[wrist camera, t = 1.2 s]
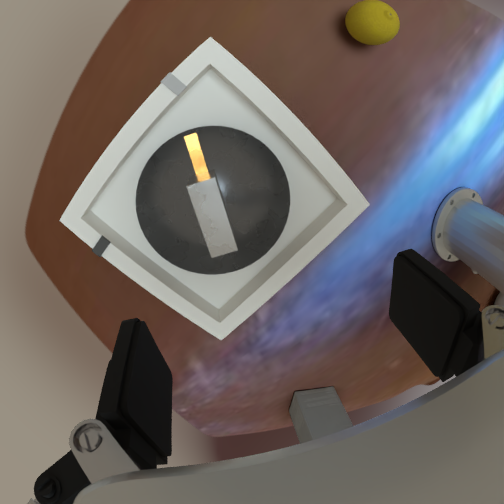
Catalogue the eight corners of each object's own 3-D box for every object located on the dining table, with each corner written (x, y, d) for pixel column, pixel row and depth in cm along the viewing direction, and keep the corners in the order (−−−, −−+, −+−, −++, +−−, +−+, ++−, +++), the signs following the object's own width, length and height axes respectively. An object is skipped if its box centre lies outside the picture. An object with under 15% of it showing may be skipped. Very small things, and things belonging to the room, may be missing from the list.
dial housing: (351, 193, 35) (371, 205, 30) (219, 317, 40) (220, 342, 36) (209, 47, 26) (209, 35, 21) (75, 207, 31) (57, 221, 26)
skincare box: (287, 408, 52) (306, 476, 38) (295, 387, 49) (317, 460, 35) (327, 404, 54) (350, 466, 39) (337, 382, 51) (366, 449, 37)
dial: (299, 245, 34) (315, 269, 29) (170, 283, 34) (164, 314, 29) (266, 107, 27) (279, 105, 22) (118, 156, 27) (98, 165, 22)
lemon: (342, 51, 27) (375, 37, 20) (329, 11, 25) (359, -11, 17) (380, 49, 27) (418, 39, 20) (368, 11, 25) (403, -6, 18)
